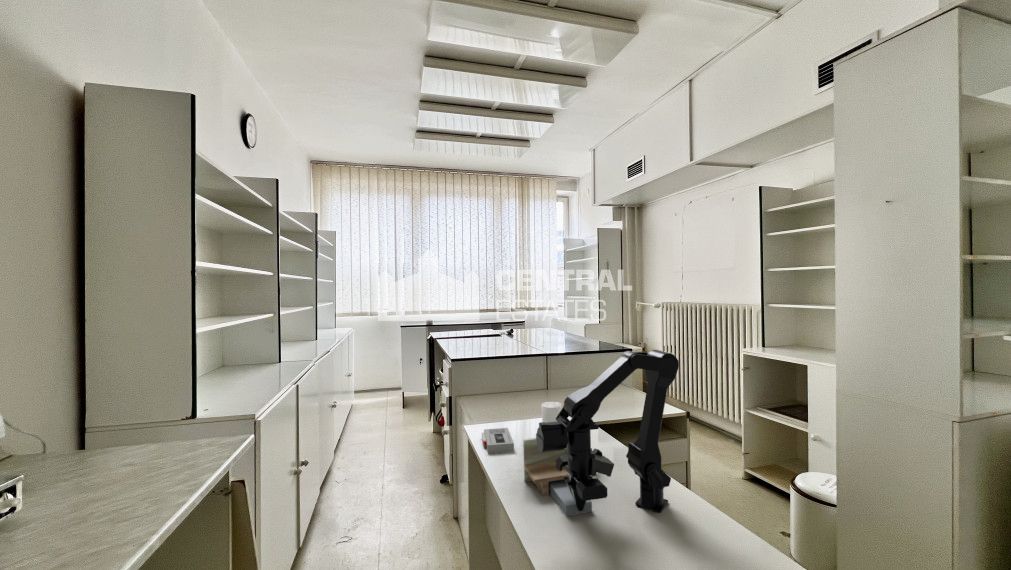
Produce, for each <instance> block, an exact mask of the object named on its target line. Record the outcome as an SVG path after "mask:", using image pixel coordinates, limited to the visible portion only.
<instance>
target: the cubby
mask: <svg viewBox="0 0 1011 570" xmlns="http://www.w3.org/2000/svg"><path fill="white" fill-rule="evenodd" d="M522 441H523V444H522V447H523V480H524V482H525V483H526V482H533V483H534V484H535V485H536V487H537V488H538V490H539V491H540V492H541V494H542V495H543V496H548V495H550V492H549V487H548V482H549V481H555V480H562V479H564V478H565V477H567V473H566V470H565V467H562V471H559V470H558V469H557V468H556V460H557V459H558V457H561V456H567V455H566V454H565V449H567V448H564V450H558V451H549V452H540V451H539V449H538V446H537V441H536V437H530V438H523V439H522Z"/></svg>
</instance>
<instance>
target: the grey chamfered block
mask: <svg viewBox="0 0 1011 570" xmlns="http://www.w3.org/2000/svg"><path fill="white" fill-rule="evenodd" d="M548 487H549V495H550V496H551V497H552V498H553V500H554V501H555V503H557V505H558V507H559V508H560V509H561V511H562V512H563V514H564V515H565V517H567V516H573V515H580V514H585V513H591V512H593V500H587V501H586V502H585V506H584V509H583V511H579V510H578V509H577V506H576V504H575V502H574V500H573V497H572V495H571V493H570V491H569V488H568V486H567V484H566V482H565V480H564V479H562V480H555V481H549V482H548Z"/></svg>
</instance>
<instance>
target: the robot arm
mask: <svg viewBox="0 0 1011 570" xmlns="http://www.w3.org/2000/svg"><path fill="white" fill-rule="evenodd" d="M679 368H680V362H679V359H678V358H677V356H676V355H675V354H673V353H670V352H666V351H664V350H663V351H662V350H659V349H653V350H650V351H649V352H645V351H632V350H626V351H624V352H623V353H622V354H621V356H620V357H619V358H618V359H617V360H615V362H613V364H611V365H610V366H609V367H608V368H607V369H606V370H604V372H602V373H601V374H600V375H598V377H597V378H595V379H594V380H593V381H592V382H591V383H590V384H589V385H587V386H584V387H582V388H578V389H577V390H575V391H574V392H572V393H570V394H569V395H568V396H566V398H564V401H563V407H562V409H561V411H560V412H559V414H558V416H557V417H556V420H557V421H558V422H548V423H547V422H542V421H541V422H538V428H537V430H536V433H535V438H536V441H537V446H538V449H539V451H540V452H549V451H558V450H564V448H567V449H565V454H566V455H567V456H561V457H558V459H557V460H556V468H557V469H558V470H559V471H562V467H565V470H566V473H567V477H565V478H564V480H565V482H566V484H567V486H568V488H569V491H570V493H571V495H572V497H573V500H574V502H575V504H576V506H577V509H578V510H579V511H583V509H584V506H585V502H586V501H587V500H591V501H593V500H601V499H606V498H608V487H607V486H606V485H605V484H604V483H603V482H602V481H601V480H599V478H593V477H594V476H597V473H598V474H601V475H604V476H606V477H608V478H611V476H612V473H613V471H614V467H615V463H614V462H613V461H611V460H610V459H609V458H607V457H606V456H605V455H603V452H602V451H601V450H600V449H598V448H593V449H592V452H591V448H592V444H591V443H592V442H591V441H592V440H591V438H592V437H591V435H592V433H591V431H592V430H593V431H594V430H599V429H600V426H599V425H597V424H596V423H595V422H594V420H593V419H592V418H594V416H595V415H596V414H597V412H599V410H600V407H601V404H602V402H603V401H604V400H605V399H606V398H607V397H608V396H609V395H610V394H611V393H612V392H613V391H614V390H615V389H616V388H618V387H619V386H620V385H621V384H622V383H623V382H624V381H625V380H626V379H628V377H629V376H631V374H633V373H634V372H635V371H636V370H644V374H645V378H646V382H647V386H646V391H645V392H646V393H645V398H644V404H643V409H642V414H641V415H642V416H641V421H640V427H639V433H638V437H637V439H636V440H635V441H634V442H628V446H627V447H628V448H627V453H626V455H625V457H626V459H627V464H628V465H629V467H630V469H632V470H633V472H634V474H635V475H636V476H638V477H639V498H638V499H637V500H636V501H635V502H634V503H635V506H637V507H640V508H645V509H647V510H649V511H653V512H656V513H662V511H663V510H664V509H665V508H666V506H667V505H668V504H669V499H666V498H664V490H665V489H664V488H667V487H669V486H670V484H671V480H672V478H671V477H670V476H669V475H668V474H667V473H666V472H665V471H664V470H663V469H662V459H663V458H662V454H661V450H660V447H659V442H660V441H659V440H660V434H661V430H662V429H661V428H662V421H663V418H664V412H665V411H664V410H665V405H666V399H667V393H668V389H669V387H670V386H671V385H672V383H673V382H674V381H675V379H676V376H677V374H678V371H679ZM569 417H570V418H571V419H569Z"/></svg>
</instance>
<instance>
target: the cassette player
mask: <svg viewBox="0 0 1011 570" xmlns="http://www.w3.org/2000/svg"><path fill="white" fill-rule="evenodd" d="M481 438H482V439H481V440H482V442H483V446H484V447H486V451H487V454H493V453H506V452H507V453H508V452H514V451H515V443H514V440H513V438H512V436H511V432H510V430H509V427H498V428H485V429H483V432H481Z"/></svg>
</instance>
